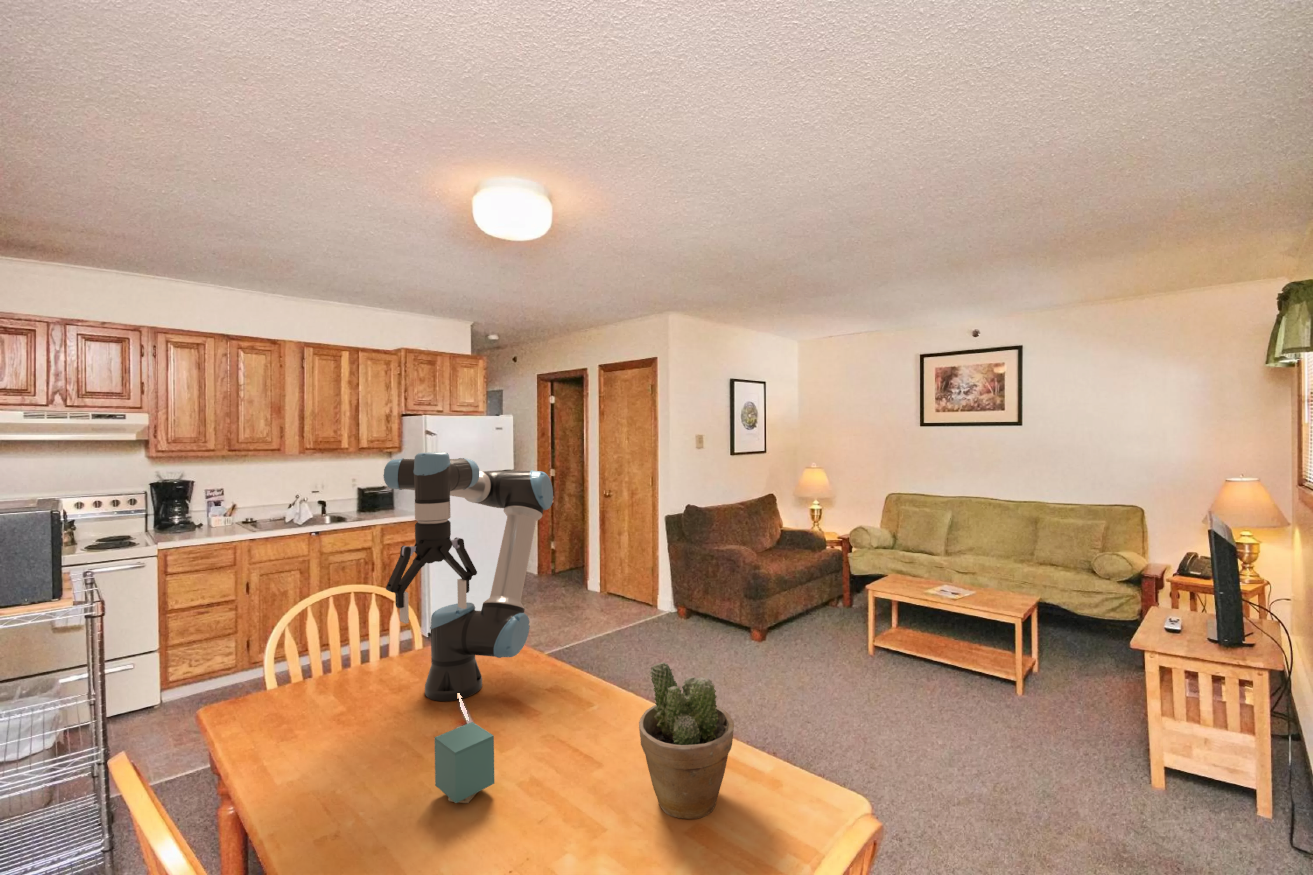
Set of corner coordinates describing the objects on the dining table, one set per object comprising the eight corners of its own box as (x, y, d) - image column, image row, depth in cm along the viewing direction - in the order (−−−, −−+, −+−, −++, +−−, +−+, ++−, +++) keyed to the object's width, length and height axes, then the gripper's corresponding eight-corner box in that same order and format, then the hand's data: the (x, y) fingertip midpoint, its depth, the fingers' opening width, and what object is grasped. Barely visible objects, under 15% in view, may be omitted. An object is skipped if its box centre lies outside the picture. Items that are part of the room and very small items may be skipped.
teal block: (473, 767, 121) (472, 721, 121) (494, 783, 116) (493, 735, 115) (435, 785, 115) (434, 737, 115) (455, 803, 110) (455, 752, 109)
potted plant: (743, 782, 118) (742, 660, 118) (723, 843, 101) (721, 700, 101) (657, 766, 124) (656, 650, 124) (625, 821, 107) (623, 686, 107)
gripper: (474, 513, 143) (475, 599, 143) (368, 525, 125) (370, 624, 125) (491, 515, 138) (492, 605, 138) (383, 529, 120) (384, 632, 120)
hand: (434, 614), depth 132 cm, fingers open, 13 cm apart
